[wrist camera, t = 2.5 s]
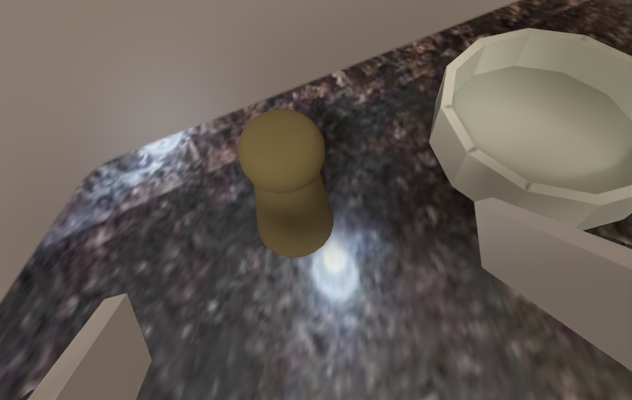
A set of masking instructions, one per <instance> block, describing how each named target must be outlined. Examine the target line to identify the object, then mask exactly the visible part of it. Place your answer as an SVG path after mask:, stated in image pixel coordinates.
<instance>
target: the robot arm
mask: <svg viewBox="0 0 632 400" xmlns="http://www.w3.org/2000/svg"><path fill="white" fill-rule="evenodd" d="M474 205H475V213H476V222H477V230H478V238H479V247H480V255H481V263H482V268H484V269H485V270H487V271H488V272H490V273H491V274H492V275H494V276H495V277H497V278H498V279H500V280H501V281H503V282H504V283H505V284H507V285H508V286H510V287H511V288H513V289H514V290H516V291H517V292H518V293H520V294H521V295H523V296H524V297H526V298H527V299H528V300H530V301H531V302H533V303H534V304H536V305H537V306H539V307H540V308H541V309H543V310H544V311H546V312H547V313H549V314H550V315H552V316H553V317H554V318H556V319H557V320H559V321H560V322H562V323H563V324H564V325H566V326H567V327H569V328H570V329H572V330H573V331H575V332H576V333H577V334H579V335H580V336H582V337H583V338H585V339H586V340H588V341H589V342H590V343H592V344H593V345H595V346H596V347H598V348H599V349H600V350H602V351H603V352H605V353H606V354H608V355H609V356H611V357H612V358H613V359H615V360H616V361H618V362H619V363H621V364H622V365H624V366H625V367H626V368H628V369H629V370H631V371H632V245H630V244H627V245H626V244H625V243H624V242H621V241H619V240H616V239H613V238H610V237H606V236H601V235H595V234H590V233H587V232H584V231H582V230H579V229H576V228H574V227H571V226H568V225H566V224H563V223H560V222H558V221H555V220H552V219H550V218H547V217H544V216H542V215H539V214H536V213H534V212H531V211H528V210H525V209H523V208H520V207H517V206H515V205H512V204H509V203H507V202H504V201H501V200H499V199H496V198H493V197H492V198H488V199H484V200H480V201H476V202H474ZM150 363H151V357H150V354H149V352H148V349H147V346H146V344H145V341H144V338H143V336H142V333H141V330H140V327H139V325H138V322H137V319H136V317H135V314H134V311H133V309H132V306H131V303H130V301H129V298H128V295H127V293H126V294H122V295H119V296H115V297H111V298H107V299H104V301H103V302H102V303H101V304H100V306H99V307H98V308H97V310H96V311H95V312H94V314H93V315H92V316H91V317H90V319H89V320H88V321H87V323H86V324H85V325H84V327H83V328H82V329H81V330H80V332H79V333H78V334H77V336H76V337H75V338H74V340H73V341H72V342H71V344H70V345H69V346H68V347H67V349H66V350H65V351H64V353H63V354H62V355H61V357H60V358H59V359H58V360H57V362H56V363H55V364H54V366H53V367H52V368H51V370H50V371H49V372H48V373H47V375H46V376H45V377H44V379H43V380H42V381H41V383H40V384H39V385H38V386H37V388H36V389H35V390H32V391H30V392H29V393H27V394H26V395H25V396H24V397H23V398H22V399H20V400H136V398H137V395H138V393H139V390H140V388H141V385H142V383H143V380H144V378H145V375H146V373H147V370H148V368H149V365H150Z"/></svg>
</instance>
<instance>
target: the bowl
mask: <svg viewBox="0 0 632 400" xmlns="http://www.w3.org/2000/svg"><path fill="white" fill-rule="evenodd" d="M429 143H430V145H431V147H432V149H433V151H434V153H435V155H436V157H437V159H438V161H439V162H440V164H441V166H442V168H443V170H444V172H445V174H446V176H447V178H448V180H449V182H450V183H451V185H452V187H454V188H455V189H457V190H458V191H460V192H461V193H462V194H464V195H465V196H467V197H468V198H470V199H471V200H472V201H474V202H476V201H480V200H484V199H488V198H492V197H493V198H496V199H499V200H501V201H504V202H507V203H509V204H512V205H515V206H517V207H520V208H523V209H525V210H528V211H531V212H534V213H536V214H539V215H542V216H544V217H547V218H550V219H552V220H555V221H558V222H560V223H563V224H566V225H568V226H571V227H574V228H576V229H579V230H582V231H583V230H586V229H590V228H594V227H597V226H601V225H605V224H608V223H612V222H615V221H619V220H623V219H624V218H626V217H627V216H628V215H630V214H631V213H632V56H630V55H627V54H625V53H623V52H621V51H619V50H616V49H614V48H612V47H610V46H608V45H605V44H603V43H601V42H599V41H597V40H594V39H592V38H590V37H588V36H586V35H579V34H571V33H563V32H555V31H547V30H539V29H531V28H526V29H522V30H517V31H513V32H508V33H503V34H499V35H494V36H490V37H485V38H481V39H478V40H477V41H476V42H475V43H474V44H472V45H471V46H470V47H469V48H468V49H467V50H465V51H464V52H463V53H462V54H461V55H460V56H458V57H457V58H456V59H455V60H454V61H452V62H451V63H450V64H449V65H448V66H447V67H446V70H445V74H444V77H443V80H442V84H441V87H440V90H439V94H438V97H437V100H436V104H435V111H434V117H433V123H432V129H431V135H430V141H429Z"/></svg>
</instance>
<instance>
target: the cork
mask: <svg viewBox="0 0 632 400" xmlns="http://www.w3.org/2000/svg"><path fill="white" fill-rule="evenodd" d="M238 158H239V161H240V164H241V167H242V169H243V172H244V174H245V175H246V176H247V177H248V178H249V179H250V180H251V182H252V183H253V184H254V189H255V201H256V213H257V225H258V231H259V234H260V237H261V240H262V241H263V242H264V244H265V245H266V246H267V247H268V248H269V249H270V250H272V251H273V252H275V253H277V254H278V255H283V256H287V257H302V256H305V255H308V254H310V253H313V252H315V251H316V250H318V249H319V248H320V247H322V246H323V245H324V244H325V242H326V241H327V239H328V238H329V236H330V234H331V231H332V227H333V217H332V212H331V208H330V205H329V202H328V198H327V195H326V192H325V188H324V185H323V181H322V178H321V175H320V171H321V168H322V165H323V162H324V159H325V144H324V138H323V136H322V134H321V132H320V130H319V128H318V126H317V125H316V124H315V123H314V122H313V121H312V120H311V119H310V118H309V117H307V116H306V115H304V114H302V113H300V112H298V111H295V110H289V109H274V110H270V111H267V112H264V113H262V114H260V115H258V116H257V117H255V118H253V119H252V120H251V121H250V123H249V124H248V125H247V126H246V127H245V129H244V130H243V132H242V134H241V137H240V139H239V146H238Z"/></svg>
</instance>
